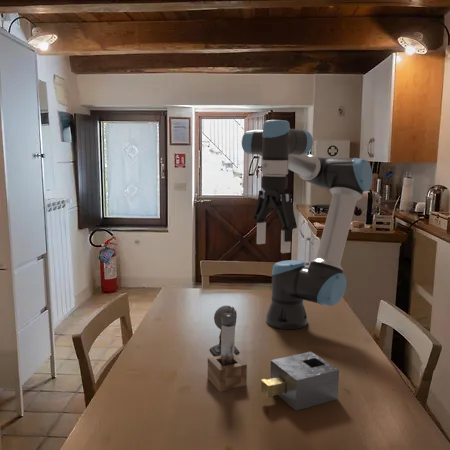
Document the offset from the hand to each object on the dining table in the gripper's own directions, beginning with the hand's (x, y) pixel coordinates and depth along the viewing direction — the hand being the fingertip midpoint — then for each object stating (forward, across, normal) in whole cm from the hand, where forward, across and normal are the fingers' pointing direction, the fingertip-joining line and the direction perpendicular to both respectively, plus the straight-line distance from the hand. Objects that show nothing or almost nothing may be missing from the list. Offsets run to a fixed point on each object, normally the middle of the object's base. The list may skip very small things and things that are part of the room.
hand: (272, 248), depth 135 cm
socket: (+35, +21, -3) cm, 41 cm away
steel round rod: (+34, +7, -18) cm, 39 cm away
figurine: (+35, -11, -10) cm, 38 cm away
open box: (+35, +7, -18) cm, 40 cm away
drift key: (+32, +21, -10) cm, 40 cm away
